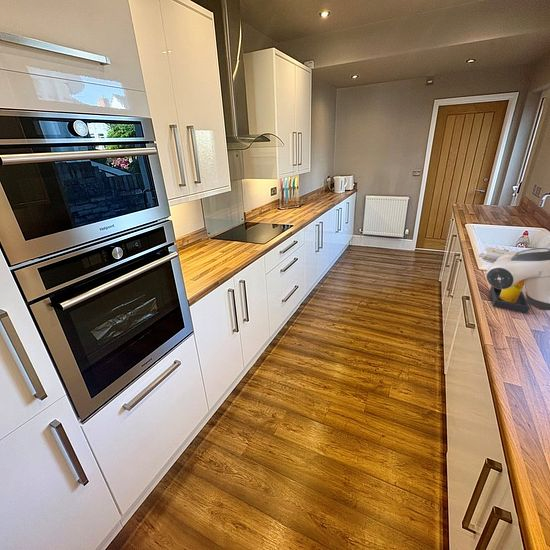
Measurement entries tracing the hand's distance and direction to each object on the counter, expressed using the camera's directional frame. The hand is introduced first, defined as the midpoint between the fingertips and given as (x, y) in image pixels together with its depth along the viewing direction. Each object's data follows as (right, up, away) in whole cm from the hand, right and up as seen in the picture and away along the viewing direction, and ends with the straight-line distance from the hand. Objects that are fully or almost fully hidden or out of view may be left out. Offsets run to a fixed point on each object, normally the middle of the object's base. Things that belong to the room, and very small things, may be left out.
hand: (521, 254), depth 106 cm
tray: (+9, -19, +18) cm, 28 cm away
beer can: (+9, -19, +18) cm, 27 cm away
